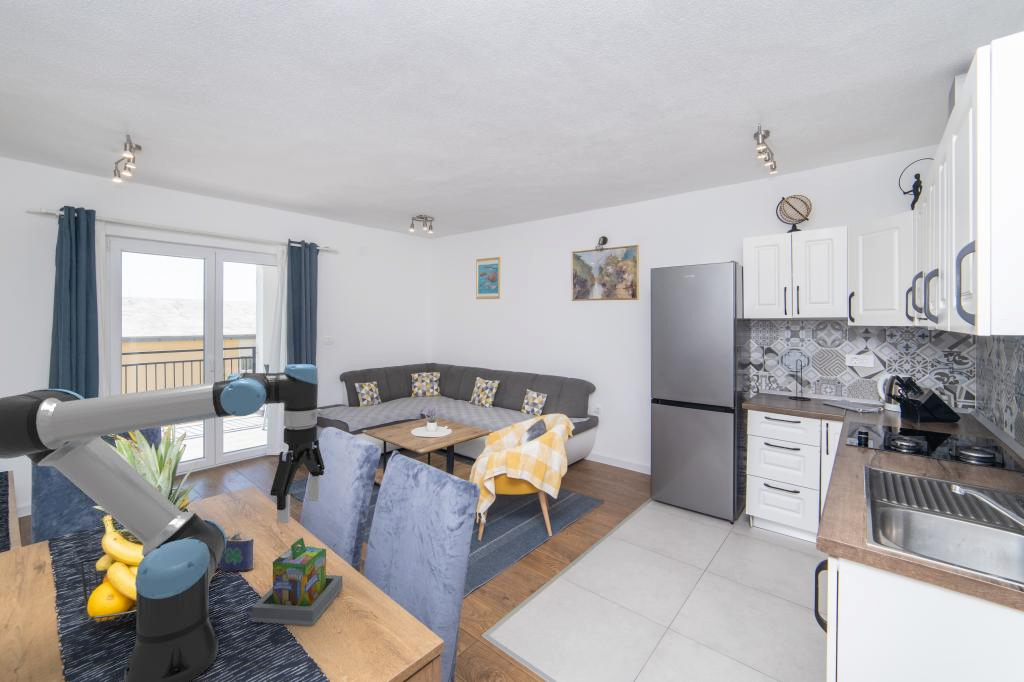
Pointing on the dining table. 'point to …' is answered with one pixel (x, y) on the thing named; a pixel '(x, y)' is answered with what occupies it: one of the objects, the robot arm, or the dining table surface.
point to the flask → (238, 554)
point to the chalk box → (299, 575)
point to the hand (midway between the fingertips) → (299, 510)
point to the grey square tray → (296, 614)
